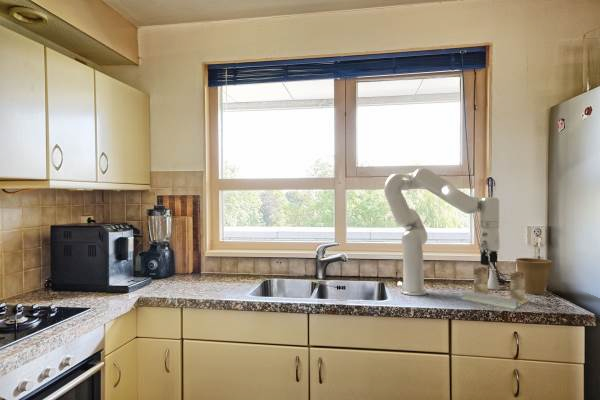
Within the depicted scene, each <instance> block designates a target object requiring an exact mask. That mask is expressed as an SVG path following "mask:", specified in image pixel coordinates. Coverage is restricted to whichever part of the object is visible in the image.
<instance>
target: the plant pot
mask: <svg viewBox="0 0 600 400" xmlns="http://www.w3.org/2000/svg"><path fill="white" fill-rule="evenodd" d="M515 262H516V268H517V271H519V272H525V294H531V295H543V294H544V292H545V291H546V290H545V289H546V288H547V285H548V281H549V278H550V274H551V269H552V260H550V259H543V258H533V257H531V258H530V257H520V258H516V259H515Z"/></svg>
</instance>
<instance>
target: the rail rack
mask: <svg viewBox="0 0 600 400" xmlns="http://www.w3.org/2000/svg"><path fill="white" fill-rule="evenodd" d="M488 268H489V267H484V266H477V267H474V268H473V291H476V292H481V293H487V294H493V295H499V296H505V297H510V298H516V299H518V304H521V305H525V304H526V303H528V302H529V298H526V292H525V272H519V271H518V270H515V271H513V272H510V273H509V275H510V277H509V279H510V283H509V285H510V288H509V289H510V295H508V294H507V295H506V294H501V293H495V292H489V291H488V290H489V289H488V279H489V277H488V275H489V273H488V271H489V270H488Z"/></svg>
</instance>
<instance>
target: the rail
mask: <svg viewBox="0 0 600 400" xmlns="http://www.w3.org/2000/svg"><path fill="white" fill-rule="evenodd" d="M463 297H467V298H472V299H477V300H483V301H488V302H493V303H499V304H504V305H509V306H515V307H517V306H518V299H516V298H510V297H505V296H499V295H493V294H487V293H481V292H476V291H474V290H471V289H470V290H469V289H465V290H463Z"/></svg>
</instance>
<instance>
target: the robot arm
mask: <svg viewBox="0 0 600 400" xmlns="http://www.w3.org/2000/svg"><path fill="white" fill-rule="evenodd" d="M383 188H384V190H383V191H384V196H385V198H386V201H387V204H388V206H389V208H390V210H391V213H392V215H393V217H394V221H395V222H396V225H398V226H399V227H401V228H404V232H403V233H402V236H401V247H402V261H403V262H402V264H403V266H402V268H403V269H402V270H403V271H402V272H403V275H402V276H403V277H402V278H403V281H397V284H396V285H397V286H398V287H401V288H400V291H399V292H400V293H401V294H404V295H406V296H407V295H409V296H425V295H426V294H428V290H427V289H424V287H425V286H424V252H423V251H424V249H423V245H425V244H426V243H427V241H428V233H427V230H426V228H425V226H424V224H423V222H422V219H421V217H420V214H419V213H418V212H417V211H416V210H415V209H414V208H410V207H409V204H408V203H407V200H406V198H405V196H404V195H403V193H402V191H409V190H414V189H419V188H423V189H425V190H426V191H428V192H430V193H431V194H433V195H435V196H437V197H438V198H439V199H441V200H443V201H444V202H445V203H448V204H449V205H451V206H452V207H454V208H455V209H457V210H458V211H461V212H462V213H465V214H475V213H479V216H480V219H479V222H480V223H479V228H480V240H479V241H480V242H479V244H480V245H479V252H480V253H479V254H480V265H483V266H484V265H485V266H489V265H490V262H491V263H498V254H499V253H498V250H500V232H499V229H500V199H499V198H498V197H494V196H492V197H491V196H490V197H489V196H487V197H485V196H484V197H476V196H471V195H468V194H467V193H465V192H464V191H461V190H460V189H458V188H457V187H455V186H454V185H453V184H452V183H451V182H450V181H449V180H447V179H445V178H444V177H441V176H440V175H438V174H436V173H435V172H433V170H431V169H429V168H425V167H420V168H416V170H415V171H413V172H409V173H401V172H400V173H399V172H397V173H393V174H391V175H390V176H388V178H387V179H386V181H385V184H384V187H383Z"/></svg>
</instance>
